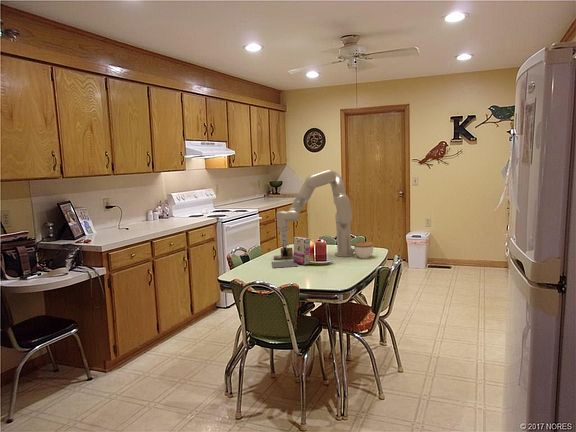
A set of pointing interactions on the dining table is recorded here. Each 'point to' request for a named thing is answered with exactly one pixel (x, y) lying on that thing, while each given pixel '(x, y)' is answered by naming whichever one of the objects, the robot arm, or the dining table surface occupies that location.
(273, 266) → the charcoal mat
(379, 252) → the dining table surface
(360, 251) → the lidded bowl
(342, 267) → the dining table surface
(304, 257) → the candy bar box
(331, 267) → the dining table surface
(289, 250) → the turner
